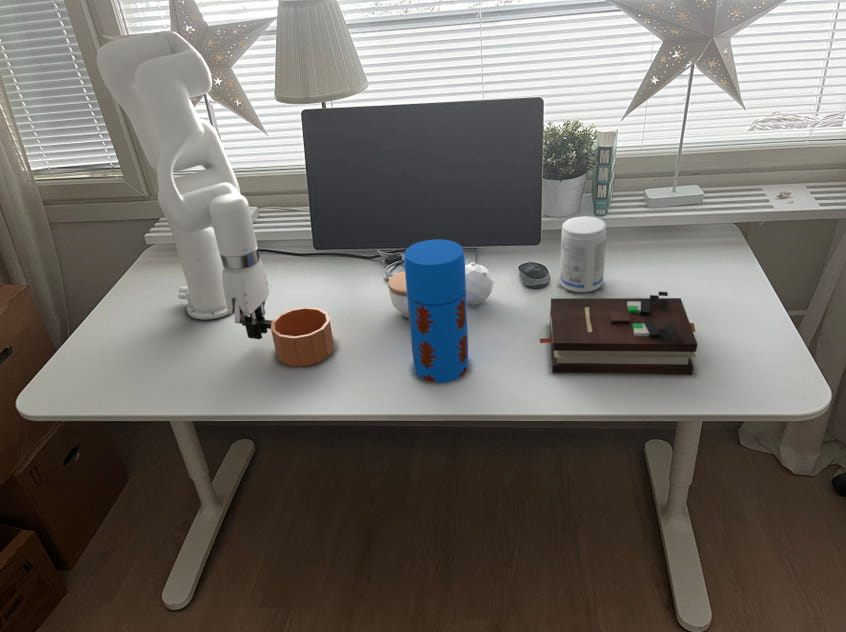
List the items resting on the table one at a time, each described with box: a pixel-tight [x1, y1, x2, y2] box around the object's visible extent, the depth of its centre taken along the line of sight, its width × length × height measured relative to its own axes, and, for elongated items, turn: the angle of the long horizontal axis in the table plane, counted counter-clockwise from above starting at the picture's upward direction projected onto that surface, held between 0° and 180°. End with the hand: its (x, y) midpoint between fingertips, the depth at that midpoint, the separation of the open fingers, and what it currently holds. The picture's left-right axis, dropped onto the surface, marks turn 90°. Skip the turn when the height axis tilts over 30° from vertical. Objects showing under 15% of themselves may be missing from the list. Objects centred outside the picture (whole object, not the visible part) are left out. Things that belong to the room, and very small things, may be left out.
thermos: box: [403, 238, 469, 384], centre depth 133 cm, size 11×11×25 cm
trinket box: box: [387, 270, 409, 319], centre depth 157 cm, size 11×11×9 cm
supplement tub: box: [559, 216, 607, 293], centre depth 159 cm, size 10×10×15 cm
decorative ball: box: [465, 261, 495, 306], centre depth 160 cm, size 9×11×12 cm
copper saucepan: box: [241, 306, 335, 368], centre depth 149 cm, size 20×12×7 cm, turn 70°
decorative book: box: [539, 291, 698, 376], centre depth 138 cm, size 19×8×30 cm
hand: (257, 334), depth 152 cm, fingers closed on copper saucepan, 1 cm apart
